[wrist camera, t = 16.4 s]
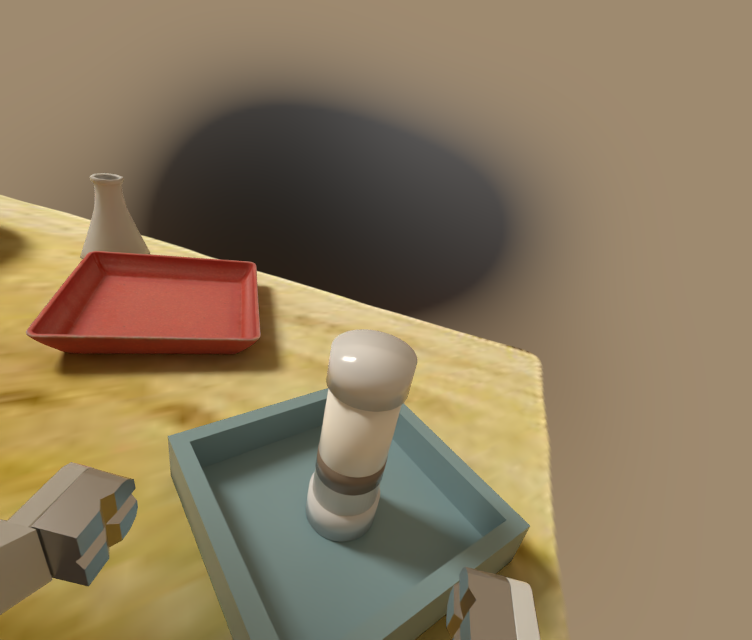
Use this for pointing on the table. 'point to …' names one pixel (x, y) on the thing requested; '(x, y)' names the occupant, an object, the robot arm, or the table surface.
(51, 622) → the table surface
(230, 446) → the tray
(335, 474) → the cylinder
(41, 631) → the table surface
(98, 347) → the plant saucer
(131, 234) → the flask
